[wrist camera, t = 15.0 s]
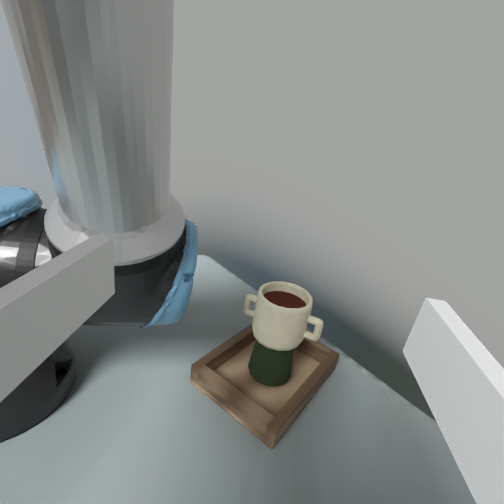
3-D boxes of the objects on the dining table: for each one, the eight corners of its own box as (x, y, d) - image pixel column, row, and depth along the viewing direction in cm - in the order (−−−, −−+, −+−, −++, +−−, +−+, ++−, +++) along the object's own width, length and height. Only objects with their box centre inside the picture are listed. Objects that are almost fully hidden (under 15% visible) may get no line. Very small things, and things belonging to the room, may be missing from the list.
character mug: (311, 372, 45) (333, 296, 40) (297, 408, 39) (321, 323, 34) (245, 344, 49) (258, 271, 44) (223, 372, 43) (235, 291, 38)
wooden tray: (190, 381, 41) (191, 364, 40) (264, 328, 55) (267, 314, 53) (272, 449, 34) (276, 430, 33) (334, 369, 48) (339, 353, 46)
